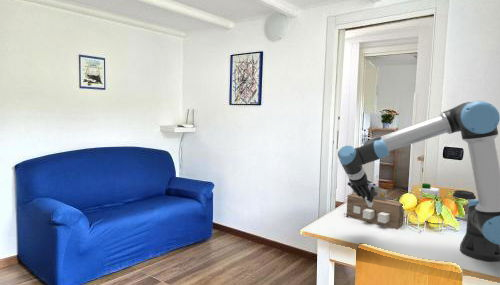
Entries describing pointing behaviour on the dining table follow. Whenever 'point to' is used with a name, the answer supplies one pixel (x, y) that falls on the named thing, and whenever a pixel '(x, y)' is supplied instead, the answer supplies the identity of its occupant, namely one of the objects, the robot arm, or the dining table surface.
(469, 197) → the coffee cup
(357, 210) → the button left
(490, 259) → the robot arm
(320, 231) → the dining table surface
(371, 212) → the button middle
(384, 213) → the button right
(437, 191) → the milk carton
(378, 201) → the console
